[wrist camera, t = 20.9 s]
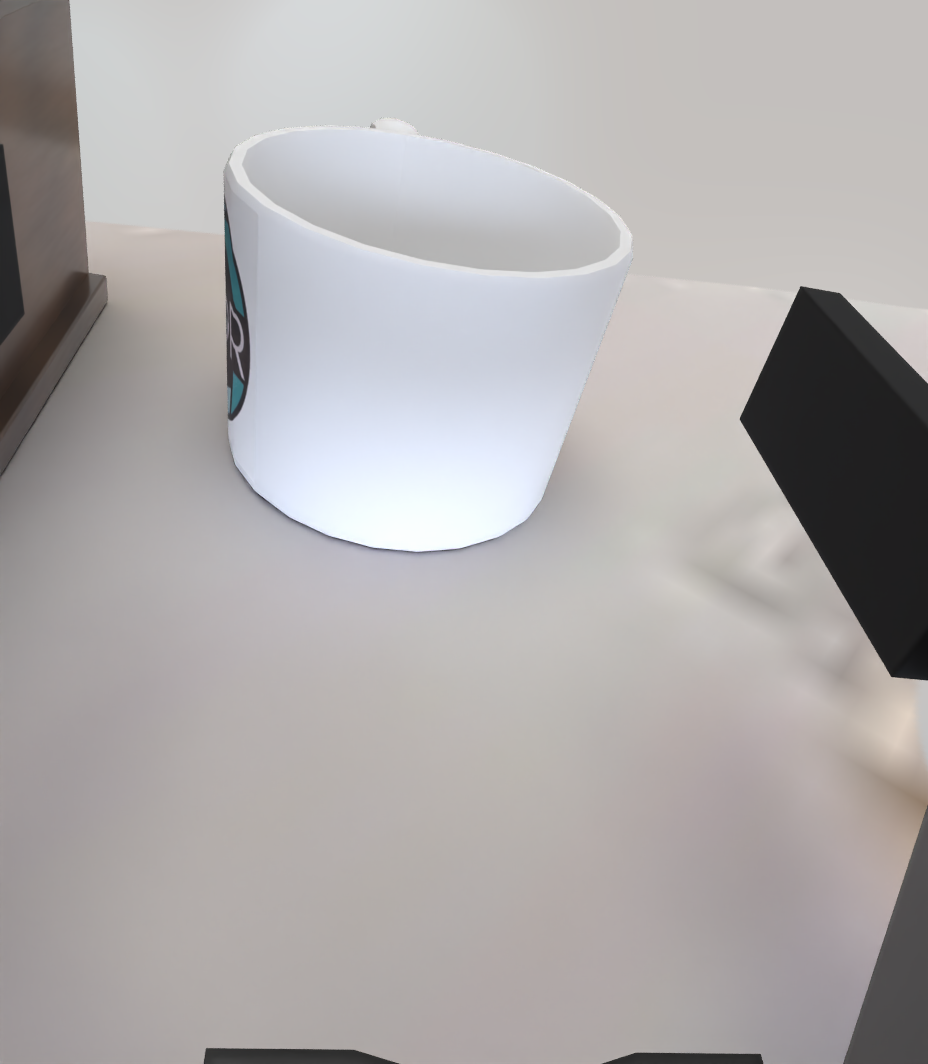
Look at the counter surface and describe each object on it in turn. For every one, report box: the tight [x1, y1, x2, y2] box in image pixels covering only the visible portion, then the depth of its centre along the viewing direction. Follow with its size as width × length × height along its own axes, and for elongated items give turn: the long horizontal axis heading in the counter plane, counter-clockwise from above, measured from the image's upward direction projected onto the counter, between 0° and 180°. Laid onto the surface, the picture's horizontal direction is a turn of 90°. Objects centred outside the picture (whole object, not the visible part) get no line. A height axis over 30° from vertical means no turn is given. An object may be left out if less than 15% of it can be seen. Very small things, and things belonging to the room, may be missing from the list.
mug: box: [224, 118, 633, 552], centre depth 25 cm, size 13×10×8 cm
